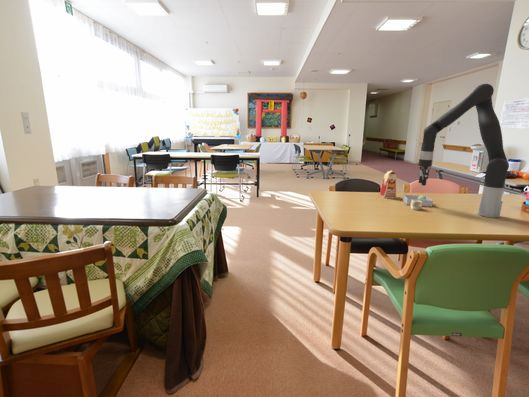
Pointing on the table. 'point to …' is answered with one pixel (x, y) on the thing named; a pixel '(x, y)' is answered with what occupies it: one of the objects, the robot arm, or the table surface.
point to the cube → (416, 204)
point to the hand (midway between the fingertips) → (421, 184)
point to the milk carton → (389, 185)
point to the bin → (408, 198)
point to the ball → (421, 198)
